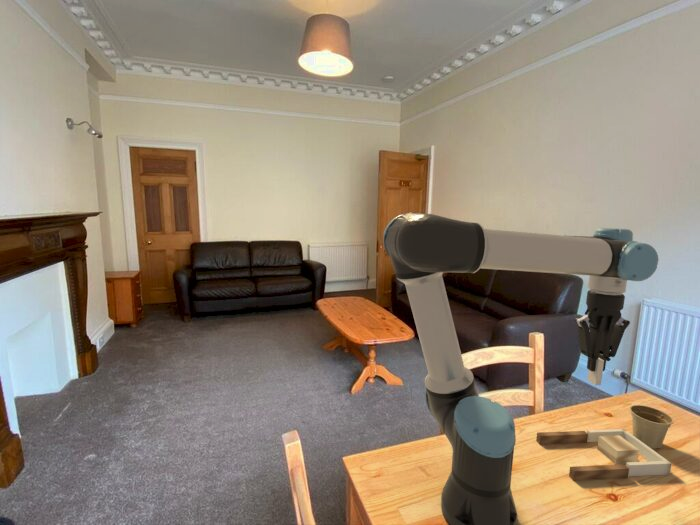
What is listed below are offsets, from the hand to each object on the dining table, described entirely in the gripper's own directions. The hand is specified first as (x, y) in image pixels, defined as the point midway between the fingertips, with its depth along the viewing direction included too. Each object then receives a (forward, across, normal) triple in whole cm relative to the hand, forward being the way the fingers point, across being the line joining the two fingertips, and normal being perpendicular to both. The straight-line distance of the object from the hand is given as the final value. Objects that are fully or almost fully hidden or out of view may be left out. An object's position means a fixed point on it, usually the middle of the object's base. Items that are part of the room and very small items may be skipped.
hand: (594, 382), depth 91 cm
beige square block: (+21, +9, 0) cm, 23 cm away
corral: (+21, +12, 0) cm, 24 cm away
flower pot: (+21, +22, +5) cm, 31 cm away
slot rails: (+21, -2, 0) cm, 21 cm away
